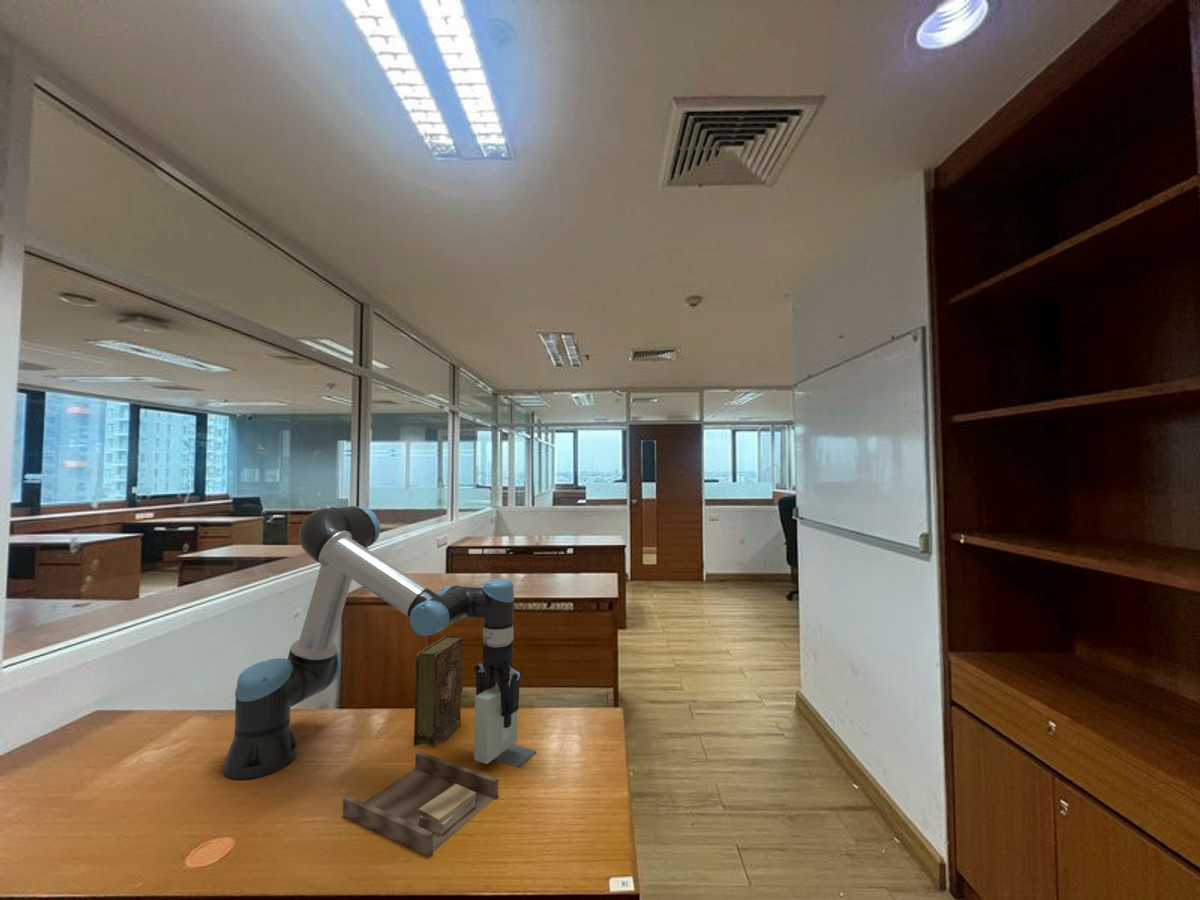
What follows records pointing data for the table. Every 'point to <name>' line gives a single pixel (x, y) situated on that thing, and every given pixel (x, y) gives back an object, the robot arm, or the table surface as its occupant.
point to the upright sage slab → (491, 726)
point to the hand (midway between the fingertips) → (496, 737)
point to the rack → (419, 802)
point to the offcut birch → (440, 831)
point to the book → (438, 691)
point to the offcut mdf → (445, 822)
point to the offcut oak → (446, 803)
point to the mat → (515, 755)
